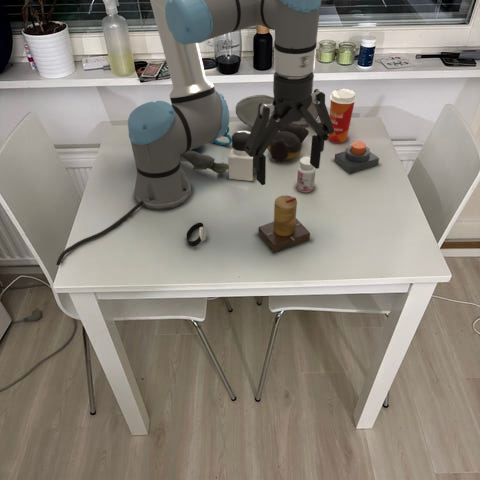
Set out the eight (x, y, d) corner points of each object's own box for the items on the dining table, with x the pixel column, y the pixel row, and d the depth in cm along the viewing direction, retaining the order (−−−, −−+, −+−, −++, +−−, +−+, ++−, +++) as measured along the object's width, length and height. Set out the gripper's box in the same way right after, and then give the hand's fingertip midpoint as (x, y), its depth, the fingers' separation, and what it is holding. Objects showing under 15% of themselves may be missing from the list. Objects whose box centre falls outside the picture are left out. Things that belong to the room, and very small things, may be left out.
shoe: (236, 131, 151) (231, 120, 160) (318, 128, 154) (309, 117, 164) (236, 97, 145) (231, 87, 154) (322, 94, 148) (312, 84, 157)
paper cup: (320, 136, 150) (325, 91, 139) (341, 130, 152) (347, 85, 141) (333, 147, 145) (340, 101, 135) (354, 141, 147) (362, 96, 137)
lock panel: (275, 255, 113) (275, 246, 111) (257, 233, 119) (257, 224, 117) (310, 242, 116) (311, 233, 114) (291, 221, 121) (292, 213, 119)
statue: (139, 158, 143) (225, 193, 136) (136, 135, 137) (226, 170, 130) (153, 146, 147) (237, 180, 140) (151, 124, 141) (239, 157, 134)
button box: (349, 173, 135) (351, 161, 132) (333, 160, 140) (335, 148, 137) (378, 164, 138) (380, 152, 135) (361, 152, 143) (364, 140, 140)
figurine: (291, 169, 138) (307, 145, 148) (295, 147, 133) (312, 124, 142) (260, 158, 140) (278, 136, 149) (264, 137, 135) (282, 115, 144)
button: (356, 156, 135) (357, 149, 133) (348, 150, 137) (349, 143, 135) (367, 153, 136) (369, 146, 134) (359, 146, 138) (360, 140, 137)
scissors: (228, 122, 142) (174, 123, 151) (226, 124, 141) (172, 124, 150) (233, 144, 146) (180, 143, 155) (231, 145, 146) (178, 144, 155)
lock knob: (280, 238, 113) (281, 209, 107) (269, 226, 116) (270, 198, 110) (298, 232, 114) (301, 203, 108) (288, 220, 118) (289, 191, 111)
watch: (202, 249, 115) (201, 237, 112) (183, 247, 115) (182, 235, 113) (208, 230, 120) (208, 218, 117) (190, 228, 120) (189, 216, 118)
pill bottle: (293, 190, 131) (295, 162, 124) (300, 181, 133) (302, 154, 127) (309, 194, 129) (312, 166, 123) (316, 185, 132) (319, 158, 125)
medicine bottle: (253, 181, 134) (253, 141, 125) (228, 179, 135) (227, 139, 126) (257, 168, 138) (258, 128, 129) (234, 166, 139) (232, 126, 130)
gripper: (243, 93, 82) (245, 198, 98) (361, 65, 89) (345, 166, 105) (224, 78, 86) (229, 180, 102) (338, 52, 93) (326, 151, 109)
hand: (288, 173), depth 104 cm, fingers open, 13 cm apart
